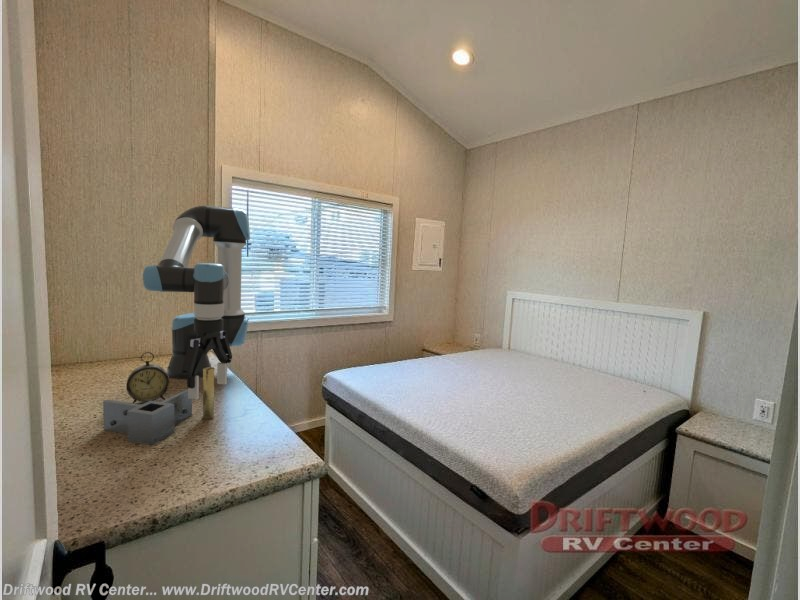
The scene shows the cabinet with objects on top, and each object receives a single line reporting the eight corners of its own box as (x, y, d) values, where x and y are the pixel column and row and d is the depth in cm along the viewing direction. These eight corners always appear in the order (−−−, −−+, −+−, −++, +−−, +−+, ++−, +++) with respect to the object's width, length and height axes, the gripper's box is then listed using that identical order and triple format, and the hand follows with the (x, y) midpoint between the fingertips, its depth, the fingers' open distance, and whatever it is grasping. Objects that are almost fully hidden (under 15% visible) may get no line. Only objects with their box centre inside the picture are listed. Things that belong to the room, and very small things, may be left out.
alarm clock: (126, 408, 114) (125, 355, 112) (127, 401, 118) (126, 351, 116) (169, 402, 120) (168, 352, 118) (168, 396, 124) (168, 348, 122)
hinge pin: (207, 415, 113) (207, 366, 111) (215, 416, 112) (216, 367, 111) (200, 418, 110) (200, 369, 108) (209, 420, 110) (209, 370, 108)
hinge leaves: (149, 408, 115) (148, 383, 114) (201, 416, 112) (201, 390, 111) (93, 435, 97) (92, 405, 96) (152, 445, 94) (152, 414, 94)
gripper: (223, 310, 120) (222, 376, 123) (164, 323, 97) (165, 404, 99) (245, 312, 119) (243, 379, 121) (190, 326, 95) (190, 408, 98)
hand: (208, 390), depth 110 cm, fingers open, 12 cm apart
